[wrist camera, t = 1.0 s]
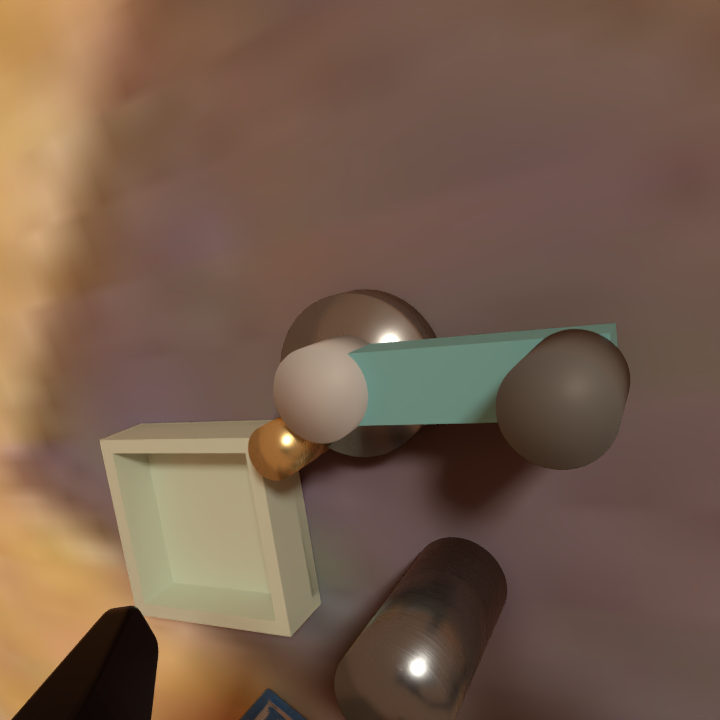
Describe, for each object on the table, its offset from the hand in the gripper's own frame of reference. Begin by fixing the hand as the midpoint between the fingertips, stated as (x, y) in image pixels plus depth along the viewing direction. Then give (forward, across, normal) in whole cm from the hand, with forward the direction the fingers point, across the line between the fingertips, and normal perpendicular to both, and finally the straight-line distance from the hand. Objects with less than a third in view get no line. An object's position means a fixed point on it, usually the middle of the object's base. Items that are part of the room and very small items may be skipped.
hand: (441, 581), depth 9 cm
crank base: (+15, +2, +6) cm, 16 cm away
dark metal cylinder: (+10, 0, +13) cm, 17 cm away
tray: (+15, +10, +12) cm, 21 cm away
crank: (+12, -1, +4) cm, 13 cm away
